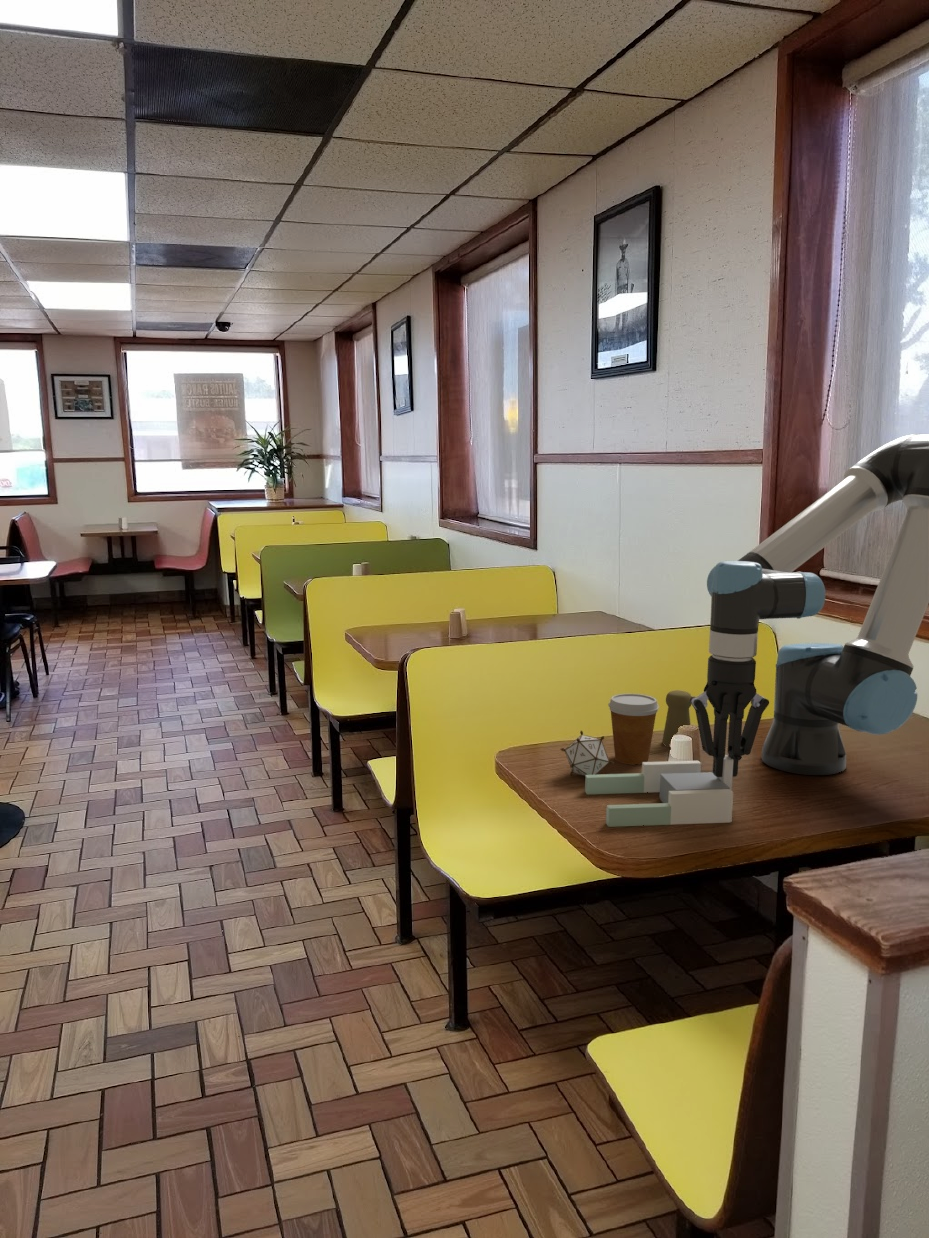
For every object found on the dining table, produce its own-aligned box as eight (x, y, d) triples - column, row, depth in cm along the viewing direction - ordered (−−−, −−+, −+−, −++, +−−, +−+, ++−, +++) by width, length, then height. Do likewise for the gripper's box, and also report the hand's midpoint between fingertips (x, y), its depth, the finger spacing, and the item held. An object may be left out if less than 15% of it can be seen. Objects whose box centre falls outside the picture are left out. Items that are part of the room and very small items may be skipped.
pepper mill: (655, 744, 189) (658, 691, 187) (672, 738, 193) (674, 686, 192) (681, 750, 185) (684, 696, 183) (698, 744, 189) (700, 691, 187)
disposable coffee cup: (596, 758, 179) (598, 698, 178) (627, 749, 186) (629, 690, 184) (635, 771, 172) (638, 708, 170) (667, 760, 179) (669, 699, 177)
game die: (583, 800, 168) (563, 765, 162) (567, 770, 175) (547, 735, 169) (626, 776, 168) (608, 740, 162) (609, 747, 175) (590, 711, 169)
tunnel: (696, 787, 164) (698, 760, 163) (731, 822, 148) (733, 792, 147) (584, 791, 162) (585, 763, 161) (608, 826, 146) (609, 796, 145)
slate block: (710, 797, 160) (711, 772, 159) (728, 814, 152) (730, 787, 151) (659, 799, 159) (660, 773, 158) (675, 816, 151) (676, 789, 150)
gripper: (760, 651, 156) (751, 786, 160) (685, 652, 155) (678, 788, 159) (780, 660, 149) (770, 801, 153) (701, 661, 147) (693, 803, 151)
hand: (723, 794), depth 156 cm, fingers closed
